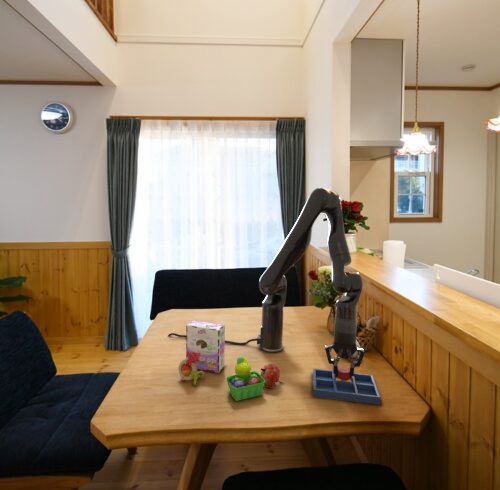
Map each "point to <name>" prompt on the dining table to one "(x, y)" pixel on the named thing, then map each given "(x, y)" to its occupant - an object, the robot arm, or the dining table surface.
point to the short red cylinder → (343, 373)
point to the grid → (345, 387)
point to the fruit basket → (245, 381)
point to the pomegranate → (270, 375)
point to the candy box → (206, 344)
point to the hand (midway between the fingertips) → (343, 375)
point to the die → (356, 351)
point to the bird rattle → (190, 367)
